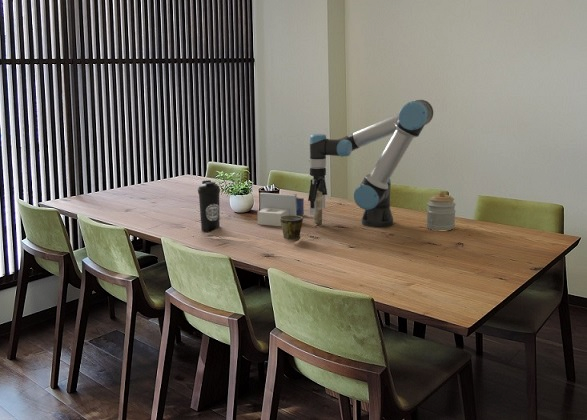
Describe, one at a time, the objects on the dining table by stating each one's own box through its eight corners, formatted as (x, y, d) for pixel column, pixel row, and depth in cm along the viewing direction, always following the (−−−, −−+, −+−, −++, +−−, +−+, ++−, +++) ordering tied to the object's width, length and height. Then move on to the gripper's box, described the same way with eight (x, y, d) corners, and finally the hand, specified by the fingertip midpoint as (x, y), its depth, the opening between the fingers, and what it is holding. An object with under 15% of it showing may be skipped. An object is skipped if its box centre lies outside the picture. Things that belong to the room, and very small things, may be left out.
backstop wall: (296, 223, 340) (296, 194, 337) (278, 235, 319) (278, 204, 316) (262, 220, 346) (261, 192, 343) (242, 231, 325) (241, 202, 322)
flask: (304, 215, 357) (304, 194, 354) (301, 216, 354) (301, 195, 352) (288, 213, 361) (288, 192, 359) (286, 214, 359) (285, 193, 356)
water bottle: (204, 233, 323) (202, 184, 318) (196, 228, 332) (194, 180, 327) (224, 230, 328) (223, 182, 322) (216, 226, 336) (214, 178, 331)
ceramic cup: (281, 236, 316) (281, 215, 314) (303, 236, 315) (303, 215, 313) (278, 244, 304) (278, 222, 301) (301, 244, 303) (301, 222, 300)
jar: (421, 229, 326) (422, 191, 322) (434, 223, 336) (435, 187, 332) (447, 233, 318) (448, 195, 314) (459, 227, 328) (461, 190, 324)
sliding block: (288, 221, 338) (288, 209, 337) (281, 226, 329) (281, 213, 328) (265, 219, 343) (265, 207, 341) (257, 224, 333) (257, 211, 332)
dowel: (323, 224, 337) (323, 191, 333) (320, 226, 333) (320, 193, 330) (315, 223, 338) (315, 191, 335) (312, 225, 335) (312, 192, 331)
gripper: (318, 162, 342) (318, 205, 347) (301, 171, 319) (301, 216, 324) (333, 163, 340) (333, 206, 344) (316, 172, 317) (316, 217, 322)
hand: (317, 211), depth 334 cm, fingers open, 13 cm apart
